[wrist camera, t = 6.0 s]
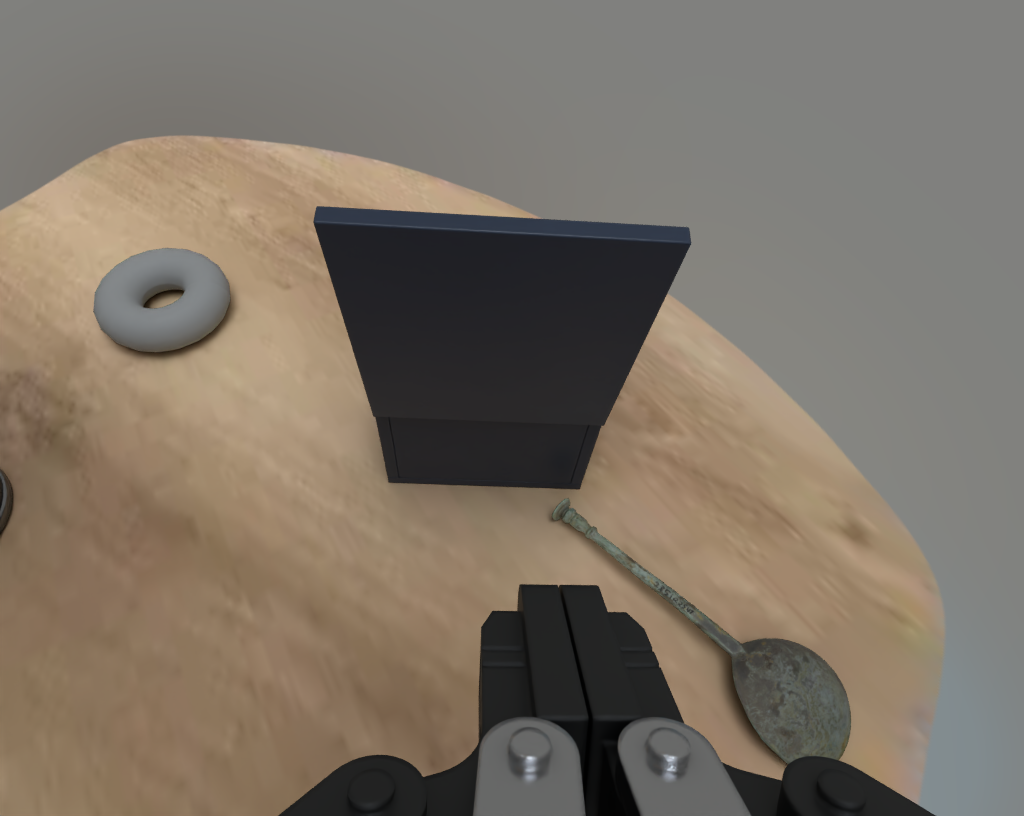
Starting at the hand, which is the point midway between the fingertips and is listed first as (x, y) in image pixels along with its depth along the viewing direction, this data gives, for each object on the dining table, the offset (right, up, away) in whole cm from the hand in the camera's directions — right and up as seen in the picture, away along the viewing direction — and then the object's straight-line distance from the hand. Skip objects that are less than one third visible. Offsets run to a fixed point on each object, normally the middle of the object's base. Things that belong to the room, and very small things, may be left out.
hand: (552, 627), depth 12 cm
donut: (-29, +12, +40) cm, 51 cm away
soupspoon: (+11, -10, +29) cm, 32 cm away
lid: (-2, +8, +18) cm, 20 cm away
